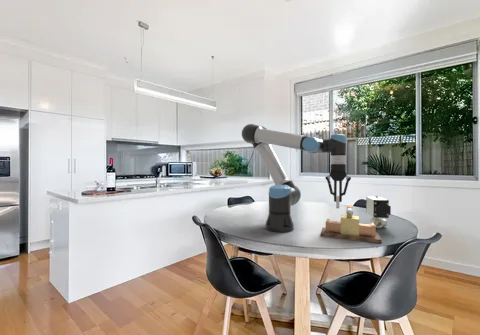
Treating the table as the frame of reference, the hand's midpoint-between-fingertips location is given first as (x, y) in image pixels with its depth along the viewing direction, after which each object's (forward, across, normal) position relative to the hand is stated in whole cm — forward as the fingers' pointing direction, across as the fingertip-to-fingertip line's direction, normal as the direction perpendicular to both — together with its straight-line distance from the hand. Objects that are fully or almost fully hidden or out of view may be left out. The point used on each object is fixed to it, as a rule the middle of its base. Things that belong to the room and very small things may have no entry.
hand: (337, 207), depth 131 cm
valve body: (+11, +6, -9) cm, 15 cm away
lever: (+1, +6, -3) cm, 7 cm away
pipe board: (+12, +6, -9) cm, 16 cm away
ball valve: (+12, +20, +17) cm, 29 cm away
